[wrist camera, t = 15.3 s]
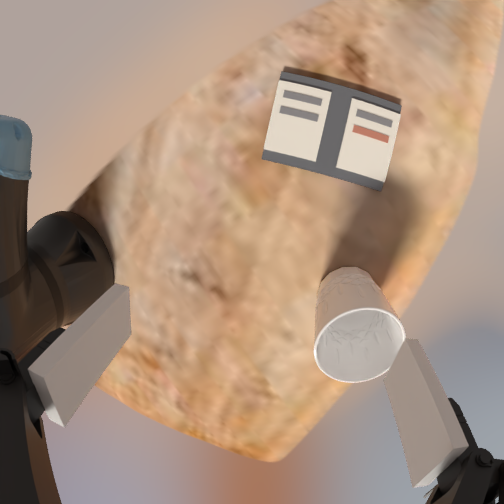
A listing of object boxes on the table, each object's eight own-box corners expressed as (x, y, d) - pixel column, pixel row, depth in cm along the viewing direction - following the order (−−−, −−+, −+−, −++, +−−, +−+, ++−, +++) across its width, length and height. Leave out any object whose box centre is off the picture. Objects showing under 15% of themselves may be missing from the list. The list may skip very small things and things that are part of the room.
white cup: (327, 333, 34) (333, 393, 25) (299, 279, 33) (298, 331, 23) (389, 307, 32) (414, 361, 23) (366, 248, 30) (391, 291, 21)
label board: (262, 158, 29) (261, 159, 28) (281, 73, 26) (281, 70, 25) (379, 190, 28) (382, 192, 27) (399, 106, 25) (402, 105, 24)
